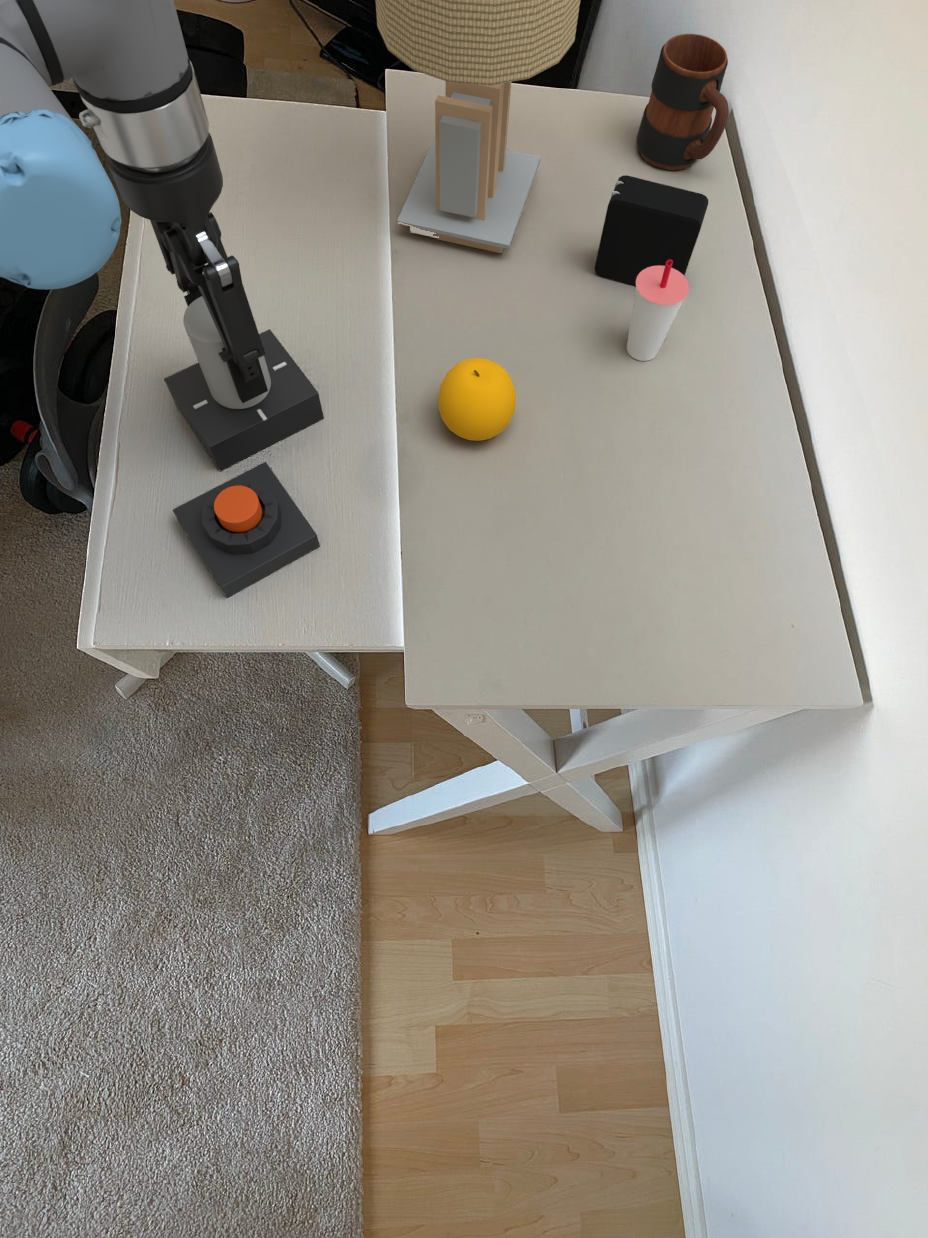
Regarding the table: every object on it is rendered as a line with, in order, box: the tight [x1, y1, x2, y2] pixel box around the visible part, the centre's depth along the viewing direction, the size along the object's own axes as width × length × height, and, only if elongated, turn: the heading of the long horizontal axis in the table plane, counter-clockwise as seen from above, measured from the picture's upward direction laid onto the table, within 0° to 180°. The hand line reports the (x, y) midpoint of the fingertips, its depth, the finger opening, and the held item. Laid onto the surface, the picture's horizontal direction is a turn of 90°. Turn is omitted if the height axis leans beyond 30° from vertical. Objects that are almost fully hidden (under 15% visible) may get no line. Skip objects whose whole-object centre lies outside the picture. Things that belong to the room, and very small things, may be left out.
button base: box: [172, 461, 321, 599], centre depth 74 cm, size 10×10×4 cm
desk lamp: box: [375, 0, 581, 254], centre depth 80 cm, size 20×20×35 cm
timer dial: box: [182, 296, 271, 409], centre depth 74 cm, size 6×6×9 cm
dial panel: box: [163, 328, 325, 472], centre depth 80 cm, size 12×10×4 cm
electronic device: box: [593, 174, 709, 287], centre depth 87 cm, size 4×10×10 cm, turn 71°
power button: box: [214, 486, 262, 533], centre depth 72 cm, size 4×4×2 cm
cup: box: [626, 259, 690, 362], centre depth 81 cm, size 5×5×12 cm
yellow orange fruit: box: [437, 357, 517, 442], centre depth 79 cm, size 8×8×8 cm
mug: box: [636, 33, 730, 171], centre depth 95 cm, size 9×12×12 cm
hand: (235, 368), depth 76 cm, fingers open, 7 cm apart
